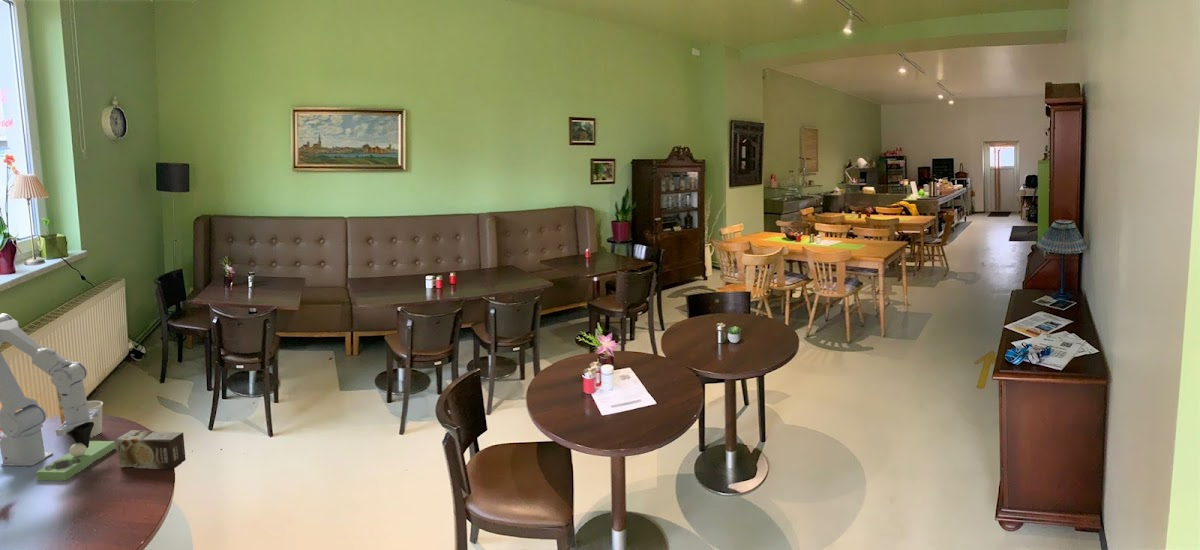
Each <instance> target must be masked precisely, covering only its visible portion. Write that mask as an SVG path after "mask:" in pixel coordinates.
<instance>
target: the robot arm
mask: <svg viewBox="0 0 1200 550" xmlns="http://www.w3.org/2000/svg"><path fill="white" fill-rule="evenodd" d="M19 326H20V325H19V321H18V320H16V319H14V318H13V317H12V316H11V315H10V314H7V313H0V348H1V347H2V345H3V343H8V344H10V345H11V346H13V347H15V348H16V349H17V350H19V351H21V352H23V353H24V354H26V355H27V356H29V357H31V363H32V364H33V365H34V366H36V367H38V368H39V369H40V370H42V372H44V373H46V374H47V375H48V376H49V377H51V378H50V381H51V383H52V384H53V385H54V387H55V389H56V388H57V389H56V392H57V391H58V392H59V394H60V396H61V401H62V406H63V411H64V416H65V422H64V423H63V424H62V425H61V424H60V426H59V427H58V428H56V429H55V434H56V436H57V437H64V436H66V435H67V434H68V435H69V436H70V437H71V438H72V439H73V440H74V442H75V443H82V444H84V445H85V446H86V448H88V447H89V441H90V439H91V438H90V434H91V431H92V428H93V426H94V422H91V421H92V420H94V419H93V418H94V417H95V416H96V417H97V416H99V415H100V413H99V409H93V410H91V411H89V409H88V404H87V401H88V400H87V395H86V389H85V385H84V384H85V383H84V380H85V379H86V378H87V374H88V372H87V369H86V367H85V366H84V365H83V364H82V363H81V362H78V361H72V360H68V359H66V358H65V357H63V356H62V355H61V354H59V352H57V350H55V349H54V348H51V347H42V346H41V345H39V344H38V343H37V342H36V341H35V340H34V339H33V338H32V337H31V336H29V335H28V333H26V332H25V331H23V329H21V328H20V327H19ZM0 404H1V408H0V430H1V432H2V433H3V435H2V436H1V438H0V453H1V454H0V455H1V459H2V462H0V466H13V467H14V466H22V467H24V466H25V467H27V466H30V467H33V466H34V465H36V464H38V463H40V462H41V461H44V460H45V459H47V458H48V457H51V456H52V455H53V454H54V453H53V451H45V446H44V439H43V433H42V428H43V427H44V426H43V424H44V423H45V421H46V420H47V413H46V411H45V409H44V408H43V407H42V406H41V405H39V403H38V401H37V400H36V399H33V398H29V397H26V396H25V394H24V393H23V390H22V388H21V386H20V385H19V383H18V381H17V379H16V377H15V376H14V374H13V372H12V370H11V368H10V367H9V364H8V362H7V361H6V359H5V357H4V354H2V352H1V350H0Z"/></svg>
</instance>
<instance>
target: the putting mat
mask: <svg viewBox="0 0 1200 550" xmlns="http://www.w3.org/2000/svg"><path fill="white" fill-rule="evenodd" d="M116 445H117V444H116V441H115V440H89V447H88V448H87V449H86V452H85V453H84V454H83V455H82V456H79V457H74V456H72V455H71V454H70V452H69V451H68V453H66V454H65V455H63V456H61V457H59V458H58V459H56V460H54V461H52V462H51V463H49V464H47V465H46V466H44V467H42V468H41V469H39V470H37V471H36V473H35V474H36V479H37V481H62V480H66V481H68V480H69V479H71V478H73V477H74V476H76V475H77V474H79V473H80V472H82V471H84V470H85V469H86V467H87V466H88V467H90V466H91V465H93V464H94V463H95V462H94V461H96V460H97V459H99V458H101V457H102V456H104V455H105V454H107V453H108V454H110V453H111V452H110V451H112V450H113V449H115V448H116ZM116 449H117V448H116ZM116 449H115V450H116ZM113 451H114V450H113ZM113 451H112V452H113ZM109 452H110V453H109ZM108 454H107V455H108ZM105 456H106V455H105ZM105 456H104V457H105ZM102 458H103V457H102ZM102 458H101V459H102ZM99 460H100V459H99ZM93 462H94V463H93ZM96 462H97V461H96ZM92 463H93V464H92ZM90 464H91V465H90ZM89 465H90V466H89ZM88 467H87V468H88ZM84 468H85V469H84ZM81 470H82V471H81ZM78 472H79V473H78ZM76 473H77V474H76ZM75 474H76V475H75ZM73 475H74V476H73ZM70 477H71V478H70ZM67 479H68V480H67Z"/></svg>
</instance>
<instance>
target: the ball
mask: <svg viewBox="0 0 1200 550" xmlns="http://www.w3.org/2000/svg"><path fill="white" fill-rule="evenodd" d="M86 449H87V448H86V446H85V445H84V444H82V443H76V442H75V443H74V444H72V445H71V446H70V447H69V449H68V450H69V451H68V453H69V452H70V454H71V455H72V456H74V457H79V456H82V455H83V454H84V453H85V452H86Z"/></svg>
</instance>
